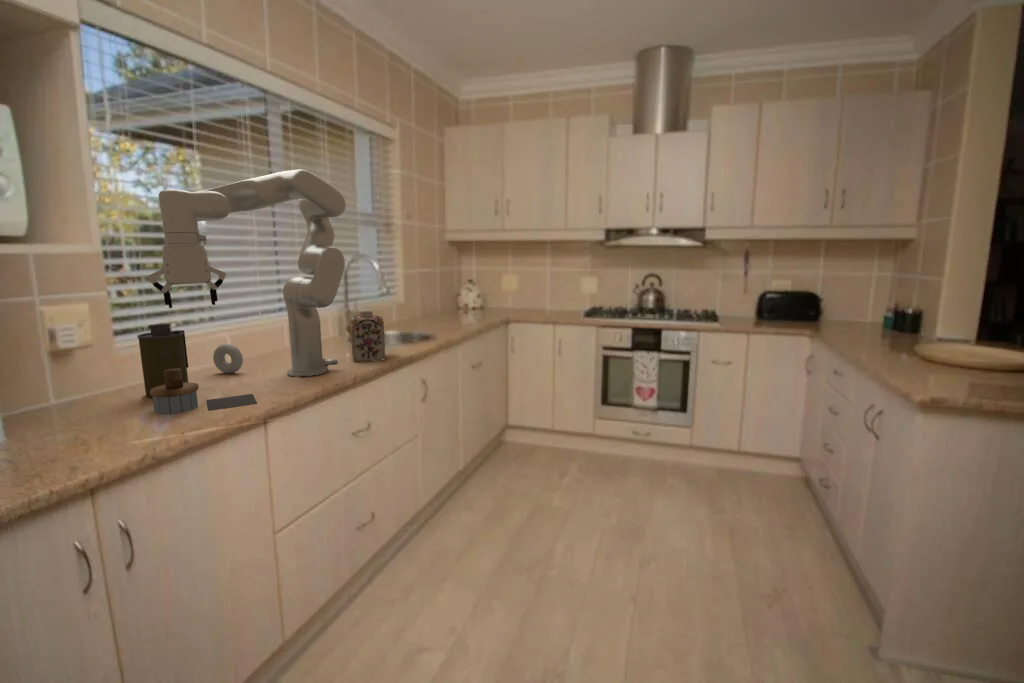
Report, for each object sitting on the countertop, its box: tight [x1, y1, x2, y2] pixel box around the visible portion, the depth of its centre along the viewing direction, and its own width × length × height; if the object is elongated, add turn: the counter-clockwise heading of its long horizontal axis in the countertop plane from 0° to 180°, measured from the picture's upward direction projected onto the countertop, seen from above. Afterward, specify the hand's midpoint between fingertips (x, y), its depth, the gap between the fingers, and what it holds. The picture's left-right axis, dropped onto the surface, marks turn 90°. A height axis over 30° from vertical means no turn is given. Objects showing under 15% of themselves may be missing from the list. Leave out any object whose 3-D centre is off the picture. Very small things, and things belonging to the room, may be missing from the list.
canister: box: [137, 323, 189, 399], centre depth 136 cm, size 11×10×20 cm
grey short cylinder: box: [152, 391, 199, 415], centre depth 124 cm, size 9×9×5 cm
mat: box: [206, 393, 258, 412], centre depth 130 cm, size 11×11×1 cm
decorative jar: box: [349, 310, 386, 363], centre depth 186 cm, size 12×12×18 cm
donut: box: [212, 343, 244, 374], centre depth 162 cm, size 10×4×10 cm, turn 81°
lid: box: [150, 368, 200, 397], centre depth 123 cm, size 10×10×6 cm
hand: (192, 305), depth 131 cm, fingers open, 9 cm apart
